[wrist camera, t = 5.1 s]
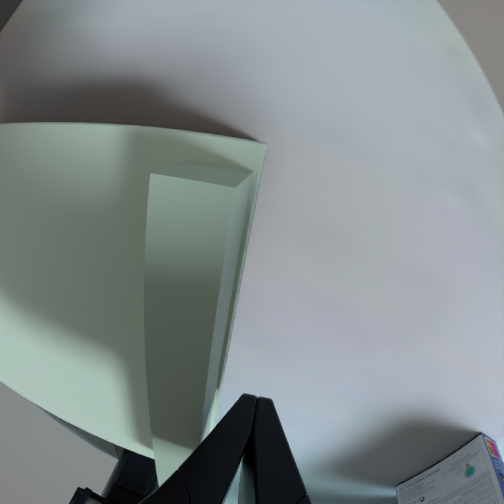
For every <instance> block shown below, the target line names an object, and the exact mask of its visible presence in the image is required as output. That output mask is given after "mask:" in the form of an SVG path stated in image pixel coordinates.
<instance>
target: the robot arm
mask: <svg viewBox="0 0 504 504" xmlns="http://www.w3.org/2000/svg"><path fill="white" fill-rule="evenodd" d="M114 446H115V449H116V452H117V455H118V458H119V460H118V462H117V464H116V466H115V468H114V470H113V472H112V474H111V476H110V478H109V481H108V482H107V484H106V486H105V488H104V490H103V492H102V494H101V496H100V495H98V494H96V493H94V492H92V490H91V489H89V488H87V487H86V488H85V489H82V488H80V487H78V488H77V490H76V492H75V494H74V496H73V497H72V499H71V501H70V503H69V504H224V502H225V500H226V498H227V495H228V493H229V490H230V488H231V485H232V483H233V480H234V478H235V476H236V473H237V471H238V468H239V465H240V462H241V460H242V463H241V472H240V484H239V496H238V504H312V503H311V501H310V498H309V496H308V495H306V494H307V491H306V488H305V486H304V483H303V481H302V478H301V475H300V473H299V470H298V468H297V465H296V462H295V460H294V457H293V455H292V452H291V449H290V447H289V444H288V441H287V439H286V436H285V433H284V431H283V428H282V425H281V422H280V420H279V417H278V414H277V412H276V409H275V406H274V403H273V401H272V399H270V398H265V397H258V398H257V396H255V395H251V394H246V393H244V394H242V395H241V397H240V398H239V399H238V400H237V401H236V403H235V404H234V405H233V406H232V407H231V409H230V410H229V411H228V412H227V413H226V415H225V416H224V417H223V418H222V419H221V420H220V422H219V423H218V424H217V425H216V426H215V427H214V429H213V430H212V431H211V432H210V433H209V434H208V436H207V437H206V438H205V439H204V440H203V441H202V442H201V443H200V445H199V446H198V447H197V448H196V449H195V450H194V451H193V452H192V453H191V455H190V456H189V457H188V458H187V459H186V460H185V461H184V462H183V463H182V464H181V465H180V466H179V468H178V470H176V471H175V472H174V473H173V474H172V475H171V476H170V477H169V478H168V479H167V480H166V481H165V482H164V483H163V484H162V485H161V486H160V487H159V484H158V478H157V472H156V465H155V459H153V458H150V457H147V456H144V455H141V454H139V453H136V452H133V451H131V450H128V449H126V448H123V447H121V446H118V445H116V444H114Z"/></svg>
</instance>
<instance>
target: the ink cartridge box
mask: <svg viewBox="0 0 504 504" xmlns="http://www.w3.org/2000/svg"><path fill="white" fill-rule="evenodd" d="M396 493H397V500H398V504H504V463H503V461H502V458H501V455H500V453H499V450H498V447H497V444H496V443H495V442H494V441H493V440H491V439H490V438H488V437H487V436H485V435H483V434H481V435H479V436H477V437H476V438H475V439H474V440H472V441H471V442H469V443H468V444H467V445H465V446H464V447H462V448H461V449H459V450H458V451H457V452H455V453H454V454H452V455H451V456H449V457H448V458H446V459H444V460H443V461H441V462H440V463H438V464H436V465H435V466H433V467H431V468H430V469H428V470H426V471H424V472H423V473H421V474H419V475H417V476H415V477H414V478H412V479H410V480H408V481H406V482H404V483H402V484H400V485H398V486H397V487H396Z"/></svg>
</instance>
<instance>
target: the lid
mask: <svg viewBox="0 0 504 504" xmlns="http://www.w3.org/2000/svg"><path fill="white" fill-rule="evenodd" d="M266 147H267V143H263V142H258V141H252V140H247V139H241V138H235V137H229V136H222V135H216V134H209V133H202V132H194V131H186V130H178V129H169V128H159V127H149V126H137V125H123V124H107V123H82V122H28V123H4V124H0V381H1V382H3V383H4V384H5V385H7V386H8V387H10V388H11V389H13V390H14V391H16V392H17V393H19V394H20V395H22V396H24V397H25V398H27V399H28V400H30V401H32V402H33V403H35V404H36V405H38V406H40V407H42V408H43V409H45V410H47V411H48V412H50V413H52V414H54V415H56V416H57V417H59V418H61V419H63V420H65V421H67V422H69V423H71V424H73V425H75V426H77V427H79V428H81V429H83V430H85V431H87V432H89V433H91V434H93V435H95V436H97V437H100V438H102V439H104V440H106V441H109V442H111V443H113V444H116V445H118V446H121V447H123V448H126V449H128V450H131V451H133V452H136V453H139V454H141V455H144V456H147V457H150V458H153V459H155V465H156V472H157V478H158V484H159V487H160V486H161V485H162V484H163V483H164V482H165V481H166V480H167V479H168V478H169V477H170V476H171V475H172V474H173V473H174V472H175V471H176V470H178V468H179V466H180V465H181V464H182V463H183V462H184V461H185V460H186V459H187V458H188V457H189V456H190V455H191V453H192V452H193V451H194V450H195V449H196V448H197V447H198V446H199V445H200V443H201V442H202V441H203V440H204V439H205V438H206V437H207V436H208V434H209V433H210V432H211V431H212V430H213V429H214V427H215V424H216V418H217V413H218V407H219V401H220V396H221V390H222V385H223V379H224V374H225V368H226V362H227V357H228V351H229V346H230V340H231V335H232V329H233V324H234V318H235V313H236V308H237V302H238V297H239V291H240V286H241V280H242V275H243V270H244V264H245V259H246V253H247V248H248V243H249V237H250V232H251V226H252V221H253V216H254V210H255V205H256V200H257V194H258V189H259V184H260V178H261V173H262V168H263V163H264V157H265V152H266Z"/></svg>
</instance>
